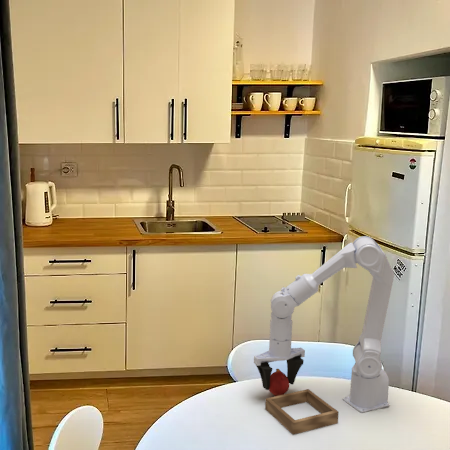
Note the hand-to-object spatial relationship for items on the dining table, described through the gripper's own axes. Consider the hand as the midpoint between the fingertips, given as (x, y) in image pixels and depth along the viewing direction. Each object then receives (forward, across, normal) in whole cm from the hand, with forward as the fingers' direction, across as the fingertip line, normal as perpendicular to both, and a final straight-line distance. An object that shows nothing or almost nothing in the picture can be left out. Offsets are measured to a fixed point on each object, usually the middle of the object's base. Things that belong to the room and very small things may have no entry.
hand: (278, 385), depth 156 cm
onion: (+3, 0, 0) cm, 3 cm away
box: (+3, 0, +11) cm, 11 cm away
